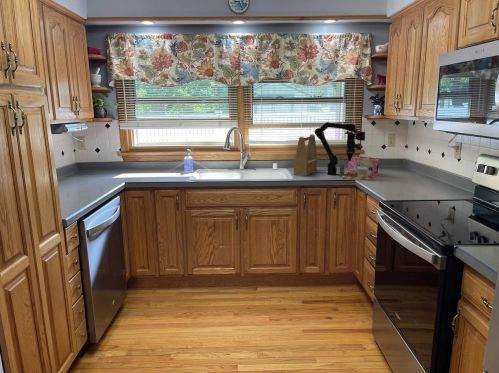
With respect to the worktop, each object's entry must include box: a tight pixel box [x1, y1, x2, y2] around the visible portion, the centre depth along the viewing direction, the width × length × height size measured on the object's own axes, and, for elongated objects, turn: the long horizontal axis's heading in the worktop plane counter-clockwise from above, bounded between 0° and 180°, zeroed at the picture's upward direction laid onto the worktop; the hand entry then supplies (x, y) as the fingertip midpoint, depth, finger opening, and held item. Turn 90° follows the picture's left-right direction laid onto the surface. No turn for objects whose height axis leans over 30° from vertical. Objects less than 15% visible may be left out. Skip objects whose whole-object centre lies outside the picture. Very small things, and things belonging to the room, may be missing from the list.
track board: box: [341, 175, 374, 181], centre depth 282 cm, size 22×12×2 cm, turn 77°
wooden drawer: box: [339, 163, 358, 177], centre depth 283 cm, size 13×8×8 cm, turn 78°
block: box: [350, 169, 356, 174], centre depth 282 cm, size 4×4×4 cm
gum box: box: [347, 155, 380, 177], centre depth 298 cm, size 24×8×14 cm, turn 44°
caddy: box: [293, 134, 318, 177], centre depth 300 cm, size 29×11×30 cm, turn 154°
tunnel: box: [357, 166, 368, 178], centre depth 281 cm, size 7×12×7 cm, turn 167°
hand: (349, 160), depth 290 cm, fingers open, 9 cm apart
